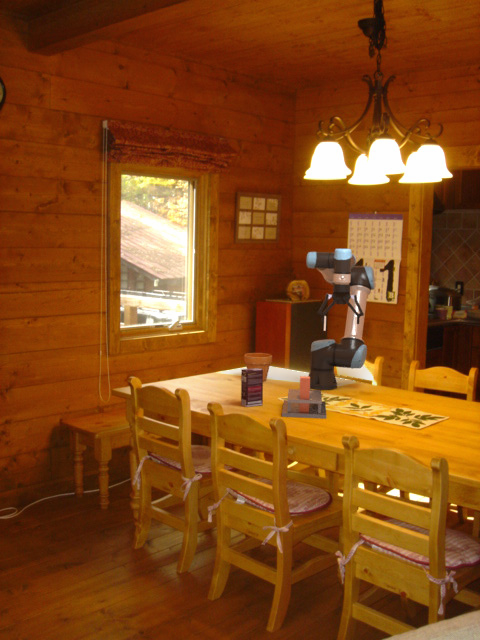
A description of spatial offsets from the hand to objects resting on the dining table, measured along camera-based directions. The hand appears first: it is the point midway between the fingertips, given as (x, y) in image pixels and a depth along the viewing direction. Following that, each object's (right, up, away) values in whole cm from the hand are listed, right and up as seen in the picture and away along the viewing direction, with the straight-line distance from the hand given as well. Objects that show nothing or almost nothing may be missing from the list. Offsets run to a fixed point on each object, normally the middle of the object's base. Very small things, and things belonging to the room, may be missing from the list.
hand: (340, 331), depth 325 cm
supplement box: (-40, -32, -9) cm, 52 cm away
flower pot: (-36, -26, +47) cm, 64 cm away
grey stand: (-18, -33, -17) cm, 41 cm away
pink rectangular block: (-18, -33, -23) cm, 44 cm away
